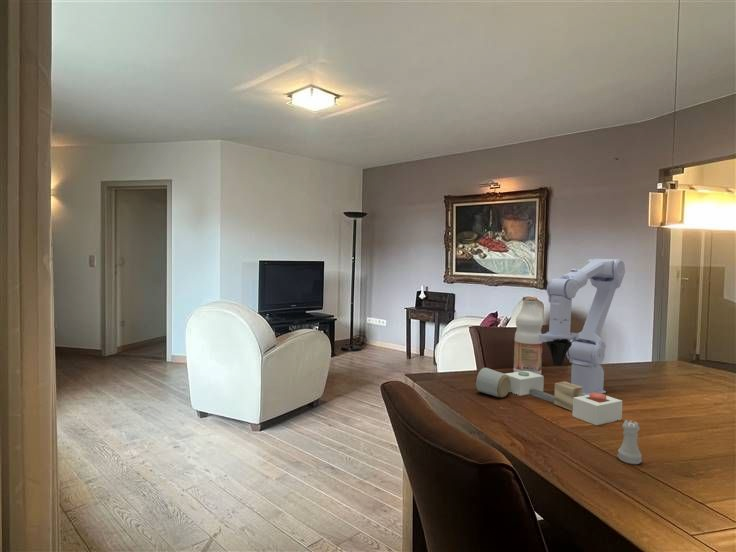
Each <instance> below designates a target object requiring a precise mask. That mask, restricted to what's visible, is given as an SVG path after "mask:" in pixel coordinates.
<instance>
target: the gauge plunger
mask: <svg viewBox="0 0 736 552" xmlns="http://www.w3.org/2000/svg"><path fill="white" fill-rule="evenodd" d="M589 396H590V397H591V400H593V401H596V402H599V403H601V402H604V401H605V399H606V396H607V394H606V393H597V392H591V393H589Z"/></svg>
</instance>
